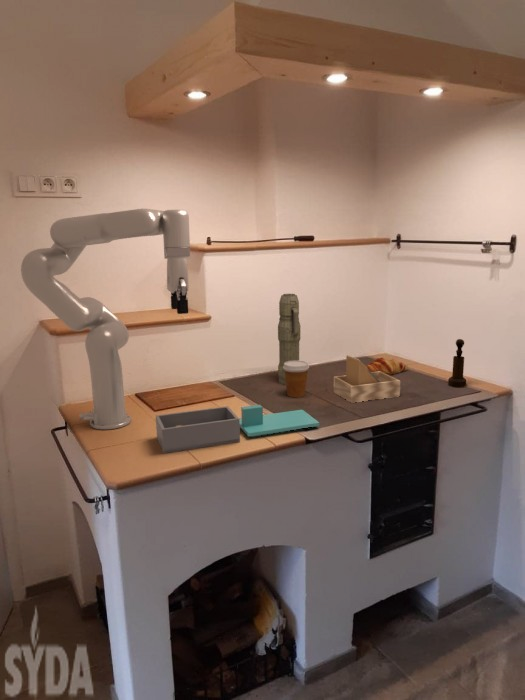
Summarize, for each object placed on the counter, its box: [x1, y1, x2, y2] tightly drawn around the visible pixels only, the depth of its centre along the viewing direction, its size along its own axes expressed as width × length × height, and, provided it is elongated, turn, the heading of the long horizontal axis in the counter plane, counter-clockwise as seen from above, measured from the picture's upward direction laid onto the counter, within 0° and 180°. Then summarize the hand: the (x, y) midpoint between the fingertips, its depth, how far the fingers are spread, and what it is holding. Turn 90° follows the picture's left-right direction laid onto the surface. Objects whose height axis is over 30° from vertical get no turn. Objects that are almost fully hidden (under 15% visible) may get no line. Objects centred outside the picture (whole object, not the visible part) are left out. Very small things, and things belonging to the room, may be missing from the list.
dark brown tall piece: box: [447, 338, 467, 388], centre depth 201 cm, size 7×6×18 cm
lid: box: [238, 404, 320, 438], centre depth 163 cm, size 23×13×8 cm, turn 110°
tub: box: [155, 405, 241, 455], centre depth 154 cm, size 22×12×7 cm, turn 109°
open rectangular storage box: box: [333, 371, 401, 404], centre depth 193 cm, size 20×14×6 cm
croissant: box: [365, 357, 409, 376], centre depth 221 cm, size 21×10×8 cm, turn 107°
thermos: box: [277, 293, 301, 386], centre depth 206 cm, size 9×12×35 cm
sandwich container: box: [345, 355, 380, 386], centre depth 192 cm, size 9×15×15 cm, turn 113°
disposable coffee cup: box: [283, 360, 310, 398], centre depth 193 cm, size 10×10×12 cm
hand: (179, 311), depth 159 cm, fingers open, 9 cm apart
